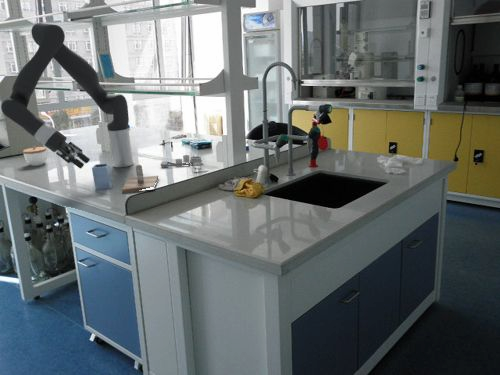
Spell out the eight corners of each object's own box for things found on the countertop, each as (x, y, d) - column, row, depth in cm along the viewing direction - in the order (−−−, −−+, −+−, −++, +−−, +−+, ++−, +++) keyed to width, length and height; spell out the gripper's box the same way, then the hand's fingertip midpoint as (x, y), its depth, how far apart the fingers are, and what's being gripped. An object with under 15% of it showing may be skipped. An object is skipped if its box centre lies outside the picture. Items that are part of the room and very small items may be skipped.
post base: (129, 181, 190) (126, 160, 188) (158, 179, 191) (156, 158, 188) (122, 193, 175) (119, 170, 173) (154, 190, 176) (151, 168, 173)
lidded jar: (52, 161, 237) (49, 143, 234) (43, 166, 227) (39, 147, 224) (32, 162, 238) (28, 144, 235) (21, 167, 227) (17, 149, 225)
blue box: (98, 185, 187) (95, 164, 184) (112, 184, 187) (109, 163, 184) (95, 189, 181) (91, 167, 179) (109, 188, 182) (106, 166, 179)
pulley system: (179, 161, 223) (155, 167, 211) (178, 152, 221) (155, 157, 210) (222, 169, 207) (200, 176, 195) (222, 159, 206) (200, 165, 194)
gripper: (49, 133, 169) (86, 161, 173) (62, 127, 183) (95, 153, 187) (37, 148, 171) (74, 175, 175) (51, 141, 184) (84, 166, 188)
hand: (85, 164), depth 181 cm, fingers open, 8 cm apart
